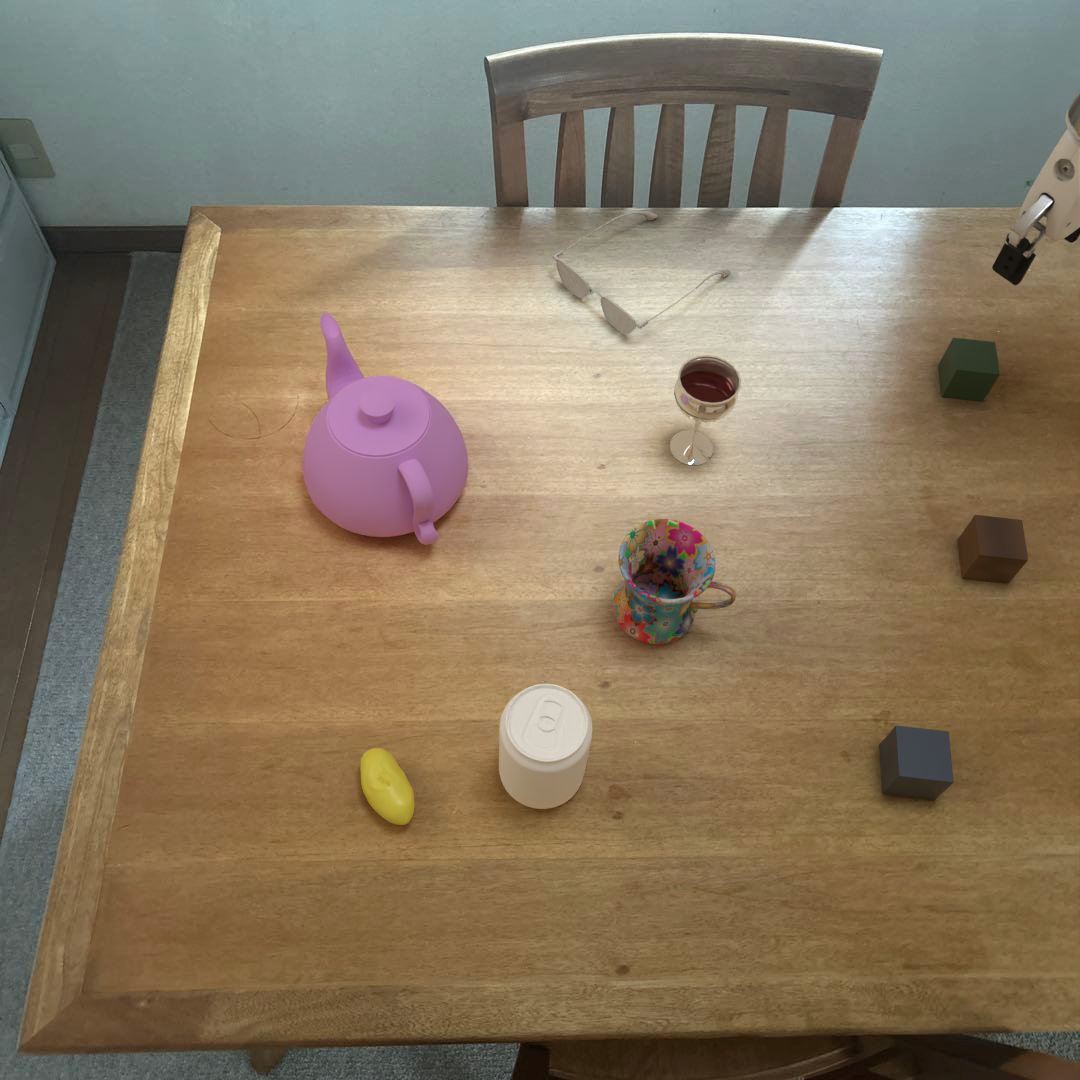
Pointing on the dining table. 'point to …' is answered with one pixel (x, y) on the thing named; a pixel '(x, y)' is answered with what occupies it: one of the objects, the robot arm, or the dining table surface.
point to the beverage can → (544, 745)
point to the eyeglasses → (610, 308)
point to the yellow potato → (386, 786)
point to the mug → (664, 580)
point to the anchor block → (916, 762)
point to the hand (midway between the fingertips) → (1033, 255)
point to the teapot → (381, 451)
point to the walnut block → (992, 549)
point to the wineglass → (703, 403)
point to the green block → (968, 369)
